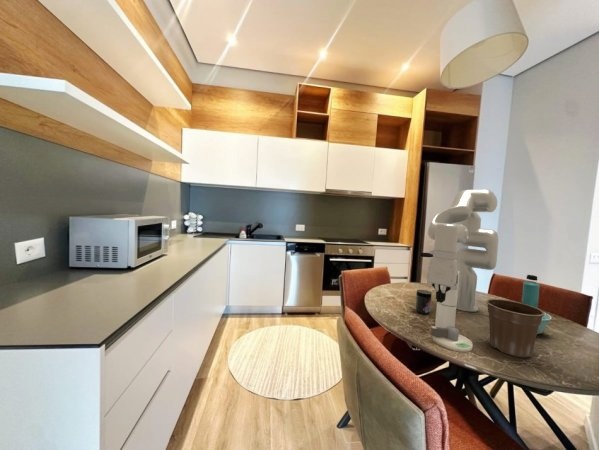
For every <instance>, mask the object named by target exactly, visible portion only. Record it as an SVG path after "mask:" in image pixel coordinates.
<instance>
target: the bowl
mask: <svg viewBox="0 0 599 450" xmlns="http://www.w3.org/2000/svg"><path fill="white" fill-rule="evenodd" d="M544 313H545V314H544V316H542V320H541V324H540V325H539V327H538V332H537V335H539V334H542V333H543V332H544V330H545V329H546V328H547V327H548V325H549V323H550V322H551V320H552V316H551V315H550V314H548V313H546V312H544Z"/></svg>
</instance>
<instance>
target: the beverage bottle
mask: <svg viewBox="0 0 599 450" xmlns="http://www.w3.org/2000/svg"><path fill="white" fill-rule="evenodd" d="M537 281H538V276H537V275H532V274H527V275H526V281H524V282H522V283H523V286H522V295H521V303H523V304H526V305H530V306H533V307H535V308H538V309H539V298H540V295H539V294H540V287H541V286H540V284H539V283H538V282H537Z"/></svg>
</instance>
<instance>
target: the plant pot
mask: <svg viewBox="0 0 599 450" xmlns="http://www.w3.org/2000/svg"><path fill="white" fill-rule="evenodd" d="M485 303H486V304H487V312H488V319H489V320H488V321H489V323H488V325H489V327H488V328H489V345H490V346H491V347H492V348H494V349H498V351H500V352H502V353H504V354H506V355H508V356H513V357H518V358H522V359H523V358H524V359H526V358H527V357H528V358H532V356H533V354H534V348H535V344H536V340H537V335H538V334H537V332H538V327H539V325H540V324H541V320H542V316H544V314H545V313H546V312H544V311H543V310H542V309H540V308H539V307H538V308H535V307H533V306H530V305H526V304H523V303H522V302H518V301H514V300H508V299H501V298H489V299H486V302H485Z"/></svg>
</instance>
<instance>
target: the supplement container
mask: <svg viewBox="0 0 599 450" xmlns="http://www.w3.org/2000/svg"><path fill="white" fill-rule="evenodd" d="M415 293H416V296H415V308H414V310H415V312H416V313H418V314H419V315H423V316H428V315H430V314H431V305H432V296H433V294H432V291H429V290H427V289H416V292H415Z"/></svg>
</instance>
